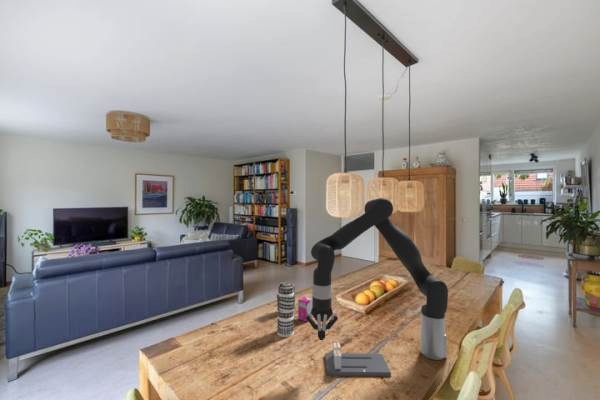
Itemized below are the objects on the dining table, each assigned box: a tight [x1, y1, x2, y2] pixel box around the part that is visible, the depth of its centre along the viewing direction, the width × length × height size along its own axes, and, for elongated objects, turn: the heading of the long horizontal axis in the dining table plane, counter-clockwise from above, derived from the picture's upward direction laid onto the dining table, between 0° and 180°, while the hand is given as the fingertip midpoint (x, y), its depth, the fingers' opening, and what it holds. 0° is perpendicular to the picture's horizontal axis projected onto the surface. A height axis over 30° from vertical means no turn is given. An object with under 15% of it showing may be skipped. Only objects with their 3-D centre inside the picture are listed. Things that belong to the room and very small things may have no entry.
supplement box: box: [297, 296, 312, 324], centre depth 148 cm, size 6×6×12 cm
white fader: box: [332, 341, 342, 354], centre depth 110 cm, size 2×4×5 cm, turn 0°
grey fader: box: [333, 349, 342, 369], centre depth 104 cm, size 2×4×5 cm, turn 0°
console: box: [324, 352, 392, 377], centre depth 107 cm, size 24×12×2 cm, turn 90°
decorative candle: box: [276, 281, 296, 338], centre depth 133 cm, size 9×9×25 cm
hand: (321, 339), depth 104 cm, fingers closed
